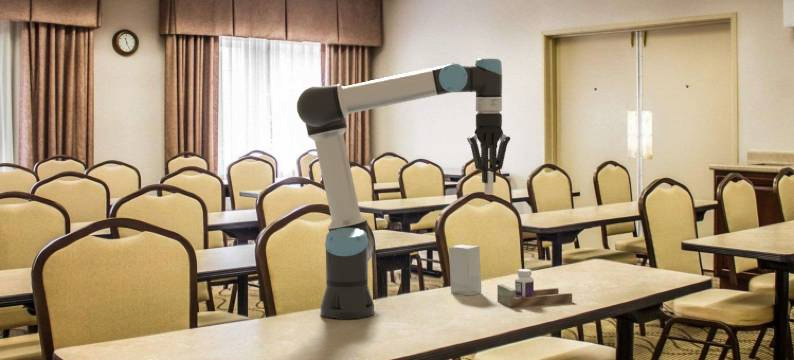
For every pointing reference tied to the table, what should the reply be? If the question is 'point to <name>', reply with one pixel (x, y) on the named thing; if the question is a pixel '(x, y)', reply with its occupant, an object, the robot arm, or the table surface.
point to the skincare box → (465, 269)
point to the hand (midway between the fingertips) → (488, 194)
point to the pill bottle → (524, 284)
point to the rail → (532, 297)
